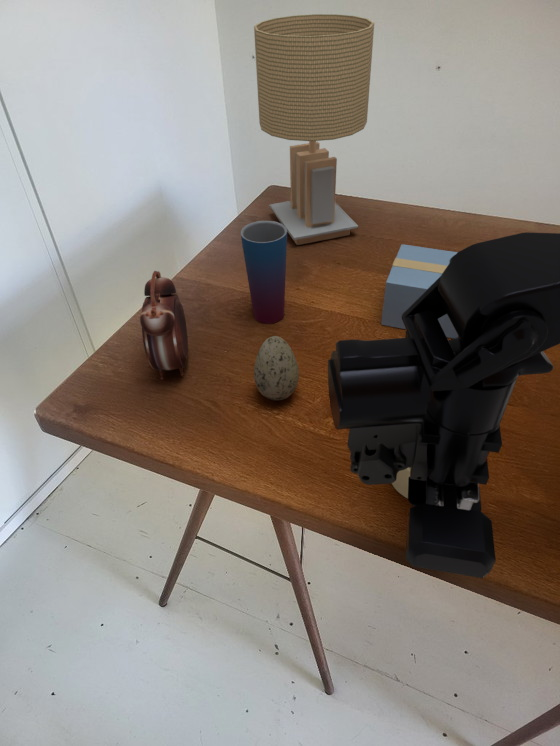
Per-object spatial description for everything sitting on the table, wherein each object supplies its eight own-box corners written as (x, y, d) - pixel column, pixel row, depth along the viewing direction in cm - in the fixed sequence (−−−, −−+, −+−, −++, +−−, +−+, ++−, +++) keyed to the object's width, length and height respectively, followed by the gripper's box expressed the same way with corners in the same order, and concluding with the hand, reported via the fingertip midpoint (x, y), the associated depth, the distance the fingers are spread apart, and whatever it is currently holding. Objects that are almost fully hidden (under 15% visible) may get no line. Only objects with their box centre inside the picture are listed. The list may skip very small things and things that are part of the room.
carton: (467, 297, 87) (477, 254, 82) (458, 339, 79) (470, 295, 74) (395, 285, 91) (401, 243, 85) (380, 324, 83) (385, 281, 77)
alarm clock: (160, 342, 81) (139, 258, 71) (190, 340, 81) (174, 255, 71) (154, 391, 73) (129, 303, 63) (188, 388, 73) (169, 300, 63)
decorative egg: (288, 415, 69) (286, 359, 62) (248, 402, 71) (242, 346, 64) (305, 386, 73) (305, 330, 66) (267, 375, 75) (263, 319, 68)
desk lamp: (253, 213, 113) (240, 20, 89) (337, 199, 117) (345, 10, 93) (282, 256, 99) (274, 41, 75) (375, 238, 103) (396, 28, 80)
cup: (289, 327, 83) (286, 242, 73) (247, 327, 83) (238, 243, 73) (289, 302, 88) (287, 219, 78) (249, 303, 88) (242, 220, 78)
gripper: (367, 324, 48) (356, 434, 59) (344, 492, 35) (336, 596, 45) (494, 335, 46) (459, 447, 57) (521, 518, 33) (469, 620, 43)
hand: (430, 517), depth 50 cm, fingers closed
